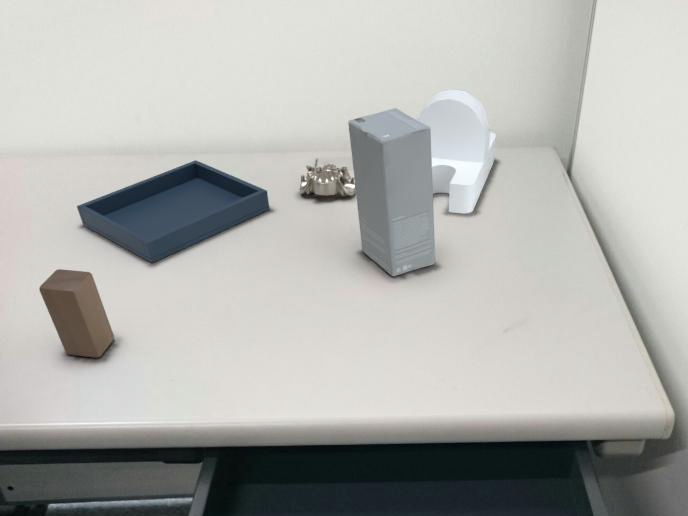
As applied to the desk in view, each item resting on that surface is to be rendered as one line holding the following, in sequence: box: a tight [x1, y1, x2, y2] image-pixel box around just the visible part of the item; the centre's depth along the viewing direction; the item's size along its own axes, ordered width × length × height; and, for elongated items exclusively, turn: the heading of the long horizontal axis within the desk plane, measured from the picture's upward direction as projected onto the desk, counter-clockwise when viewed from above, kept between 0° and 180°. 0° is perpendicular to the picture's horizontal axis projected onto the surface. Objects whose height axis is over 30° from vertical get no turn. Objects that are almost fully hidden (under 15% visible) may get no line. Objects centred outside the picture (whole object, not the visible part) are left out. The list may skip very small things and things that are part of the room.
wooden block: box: [38, 268, 115, 359], centre depth 76 cm, size 4×4×8 cm
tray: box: [76, 159, 271, 264], centre depth 98 cm, size 16×20×3 cm
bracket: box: [416, 89, 497, 215], centre depth 102 cm, size 19×10×11 cm, turn 166°
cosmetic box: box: [348, 107, 436, 277], centre depth 85 cm, size 8×7×16 cm
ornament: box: [298, 163, 356, 197], centre depth 102 cm, size 8×7×4 cm
